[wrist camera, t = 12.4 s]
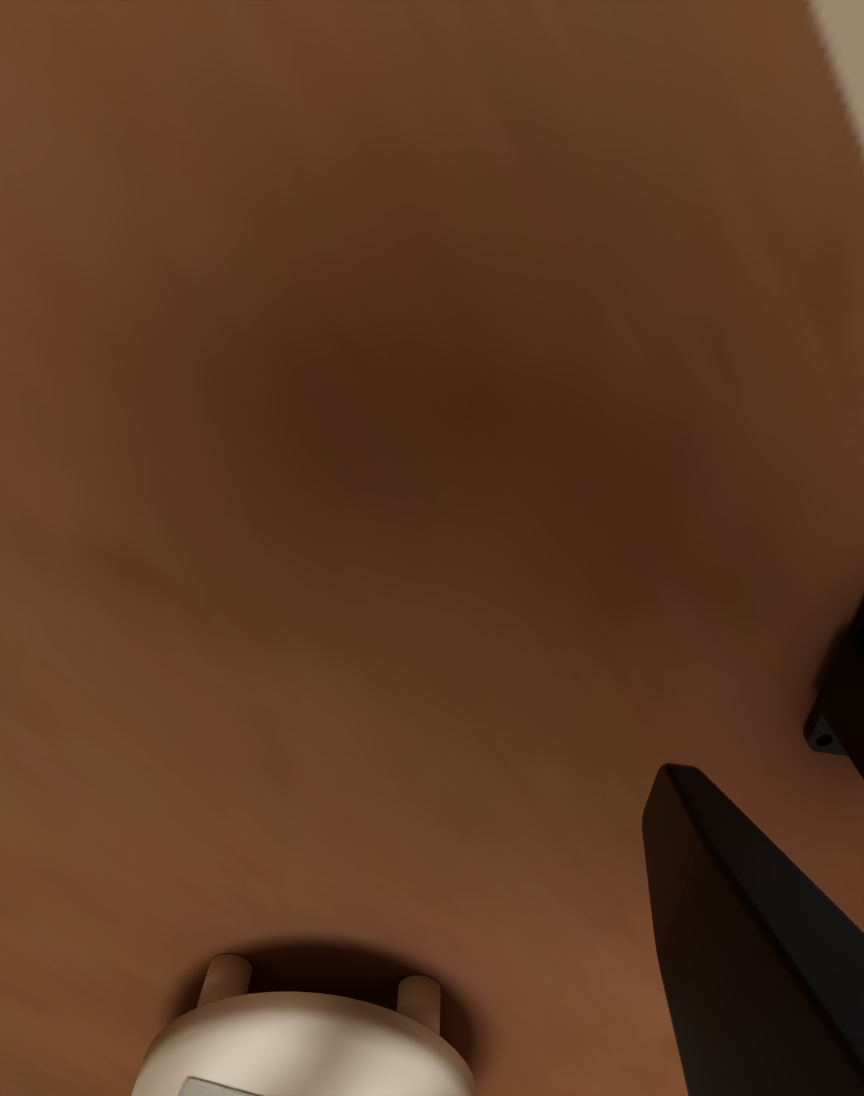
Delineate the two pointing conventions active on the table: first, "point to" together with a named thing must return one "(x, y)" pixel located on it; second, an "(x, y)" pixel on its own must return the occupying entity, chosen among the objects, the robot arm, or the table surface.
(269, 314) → the table surface
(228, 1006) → the stool
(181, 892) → the table surface
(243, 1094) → the supplement box
